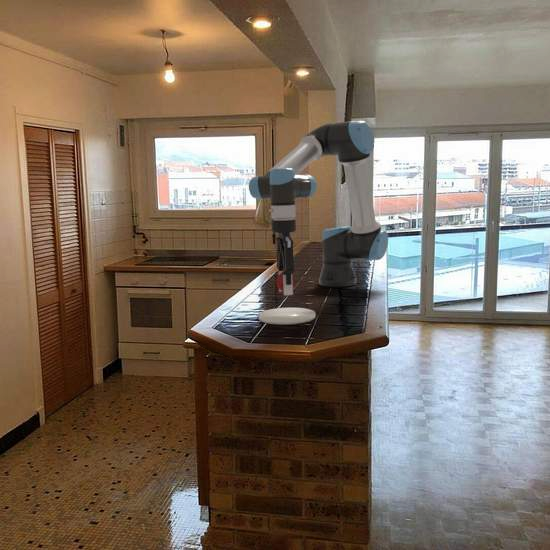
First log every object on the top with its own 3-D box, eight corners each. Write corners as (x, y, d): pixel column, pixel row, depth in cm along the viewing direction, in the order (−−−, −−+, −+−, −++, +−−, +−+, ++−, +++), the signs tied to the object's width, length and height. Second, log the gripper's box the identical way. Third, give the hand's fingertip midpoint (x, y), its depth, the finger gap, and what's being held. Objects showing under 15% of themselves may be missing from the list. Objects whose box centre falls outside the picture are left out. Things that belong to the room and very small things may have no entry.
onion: (284, 291, 190) (284, 266, 189) (299, 293, 187) (298, 267, 186) (273, 294, 186) (272, 269, 185) (287, 296, 182) (286, 270, 181)
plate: (307, 309, 198) (307, 305, 198) (322, 321, 181) (322, 317, 181) (254, 313, 195) (253, 310, 194) (264, 326, 177) (264, 322, 177)
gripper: (265, 218, 191) (268, 288, 195) (278, 221, 173) (280, 299, 176) (288, 217, 193) (290, 287, 196) (303, 220, 174) (305, 297, 178)
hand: (286, 292), depth 186 cm, fingers closed on onion, 6 cm apart
